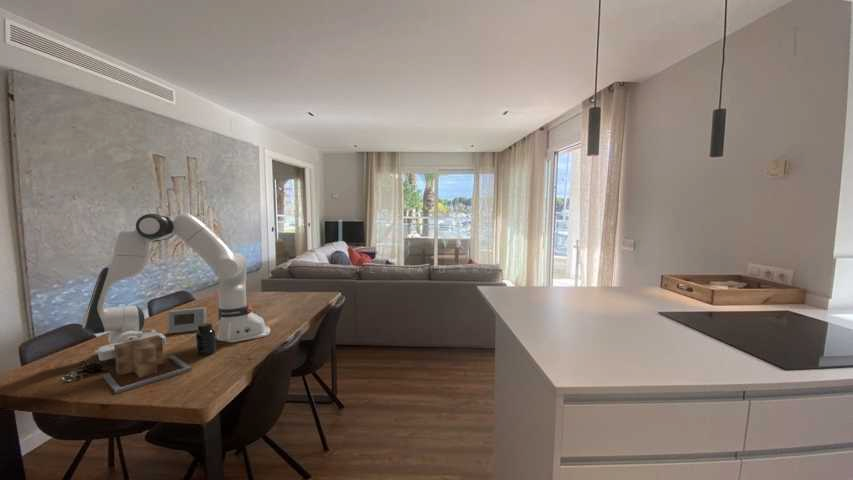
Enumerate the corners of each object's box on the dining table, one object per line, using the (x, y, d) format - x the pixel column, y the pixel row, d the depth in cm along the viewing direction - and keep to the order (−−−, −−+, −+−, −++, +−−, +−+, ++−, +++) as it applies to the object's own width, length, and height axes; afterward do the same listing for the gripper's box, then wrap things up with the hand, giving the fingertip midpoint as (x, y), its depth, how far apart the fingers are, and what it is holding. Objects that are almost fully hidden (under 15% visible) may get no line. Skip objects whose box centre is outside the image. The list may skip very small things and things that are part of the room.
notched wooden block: (159, 360, 136) (158, 335, 135) (170, 368, 128) (168, 342, 127) (116, 371, 126) (114, 345, 125) (124, 382, 118) (122, 353, 117)
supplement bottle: (202, 349, 146) (201, 322, 145) (219, 349, 146) (218, 321, 146) (193, 356, 139) (191, 327, 138) (210, 355, 140) (209, 326, 139)
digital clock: (164, 335, 165) (163, 313, 164) (174, 328, 173) (173, 308, 173) (202, 332, 168) (201, 311, 167) (210, 326, 177) (209, 306, 176)
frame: (173, 357, 138) (173, 355, 138) (191, 370, 127) (191, 367, 127) (103, 377, 122) (102, 374, 122) (115, 393, 110) (115, 390, 110)
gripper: (92, 343, 131) (100, 351, 122) (159, 328, 147) (169, 335, 138) (94, 359, 131) (101, 369, 123) (160, 343, 147) (170, 351, 139)
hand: (138, 351), depth 130 cm, fingers closed, pressing on notched wooden block
